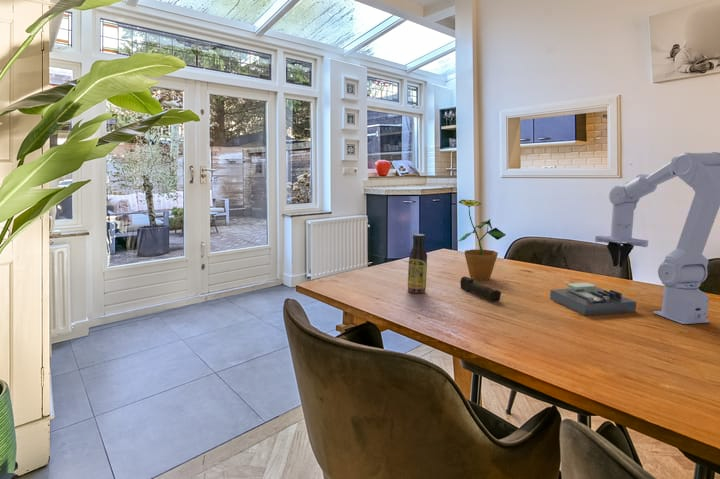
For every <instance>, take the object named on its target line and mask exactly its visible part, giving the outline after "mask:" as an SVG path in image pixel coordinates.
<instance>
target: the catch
mask: <svg viewBox="0 0 720 479" xmlns="http://www.w3.org/2000/svg"><path fill="white" fill-rule="evenodd" d="M596 287H597V285H595V284H592V283H590V282H575V283H566V288H572V289H575V290H579V289H580V290H582V291H585V292H587V293H591V292H592V291H595V292H596Z"/></svg>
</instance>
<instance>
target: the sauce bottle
mask: <svg viewBox="0 0 720 479" xmlns="http://www.w3.org/2000/svg"><path fill="white" fill-rule="evenodd" d="M425 239H426V234H424V233H414V234H413V235H412V240H413V241H412V243H413V244H412V247H411V248H412V249H411V250H410V252H409V257H408V269H407V272H408V273H407V291H408V292H410V293H413V294H422V293H425V292H426V289H427V273H428V270H427V268H428V254H427V252H426V250H425Z"/></svg>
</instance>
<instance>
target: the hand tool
mask: <svg viewBox="0 0 720 479" xmlns="http://www.w3.org/2000/svg"><path fill="white" fill-rule="evenodd" d="M459 282H460V288H461V290H464V291H465V292H468V293H469V292H471V293H474V294H476V295H478V296H480V297H482V298H484V299H487V300H489V301H490V303H497V302H499V301H500V300H501V295H502V293H501V291H500V290H498V289H493V288H491V287H488V286H485V285H482V284H480V283H477V282H475V279H472V278H470V277H469V276H466V275H465V276H462V277H461V279H460V281H459Z"/></svg>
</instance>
